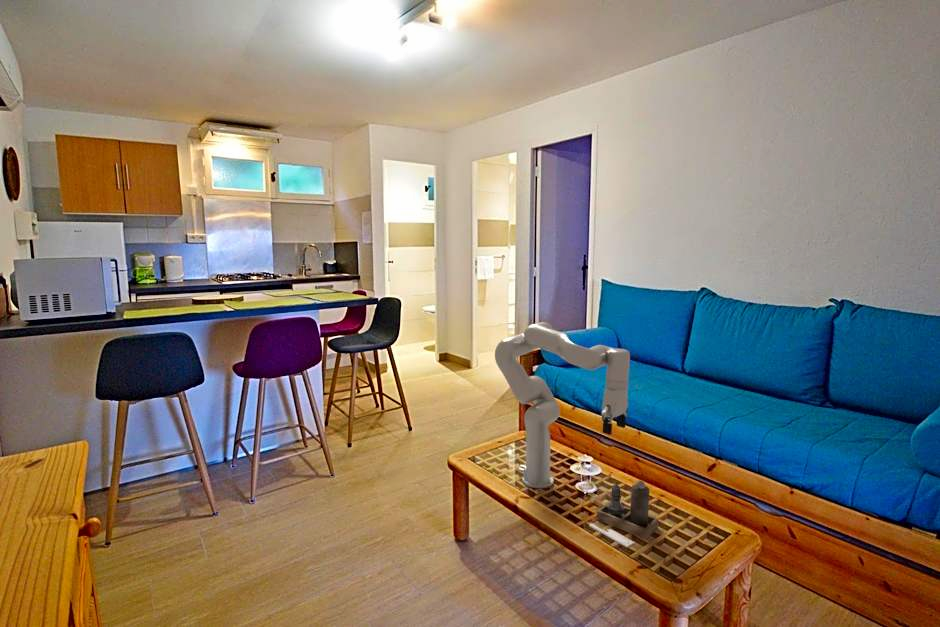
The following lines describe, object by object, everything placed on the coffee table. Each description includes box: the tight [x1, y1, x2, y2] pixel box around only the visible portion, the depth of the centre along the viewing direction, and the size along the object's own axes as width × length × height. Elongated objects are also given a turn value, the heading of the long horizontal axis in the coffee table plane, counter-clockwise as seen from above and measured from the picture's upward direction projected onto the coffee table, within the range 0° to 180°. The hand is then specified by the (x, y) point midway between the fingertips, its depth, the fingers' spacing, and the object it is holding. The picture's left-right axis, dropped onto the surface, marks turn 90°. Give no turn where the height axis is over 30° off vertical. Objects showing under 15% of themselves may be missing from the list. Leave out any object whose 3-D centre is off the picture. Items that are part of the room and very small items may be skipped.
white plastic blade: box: [588, 523, 636, 548], centre depth 159 cm, size 5×15×1 cm, turn 36°
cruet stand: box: [596, 480, 659, 540], centre depth 164 cm, size 17×9×17 cm, turn 47°
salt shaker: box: [606, 482, 625, 519], centre depth 167 cm, size 6×6×12 cm
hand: (614, 430), depth 175 cm, fingers open, 9 cm apart
